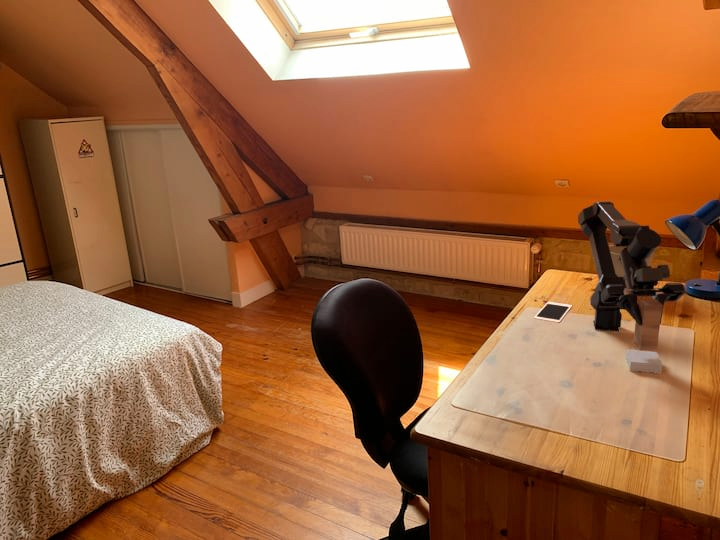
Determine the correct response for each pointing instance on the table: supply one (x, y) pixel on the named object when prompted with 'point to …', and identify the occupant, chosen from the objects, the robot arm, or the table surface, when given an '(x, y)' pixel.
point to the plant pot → (618, 264)
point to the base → (643, 361)
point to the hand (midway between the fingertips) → (650, 324)
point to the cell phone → (553, 312)
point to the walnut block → (648, 324)
